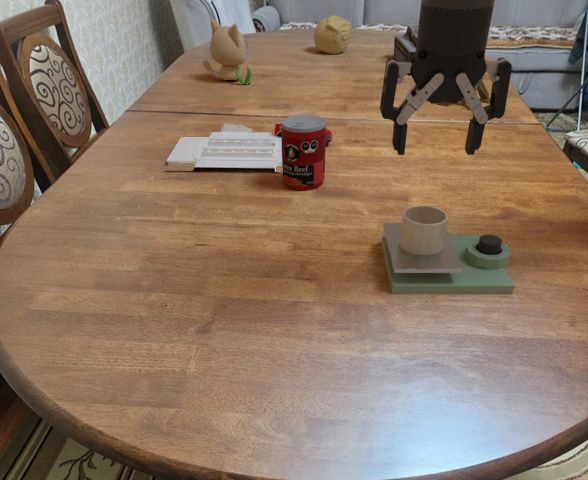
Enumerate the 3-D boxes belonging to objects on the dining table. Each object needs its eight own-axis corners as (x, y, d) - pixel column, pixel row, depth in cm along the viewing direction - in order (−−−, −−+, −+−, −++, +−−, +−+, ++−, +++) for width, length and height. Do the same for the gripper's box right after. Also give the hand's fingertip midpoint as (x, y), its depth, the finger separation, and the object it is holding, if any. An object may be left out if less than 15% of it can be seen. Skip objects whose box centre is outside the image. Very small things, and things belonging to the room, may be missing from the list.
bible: (464, 55, 179) (470, 21, 172) (473, 76, 158) (480, 38, 152) (392, 54, 182) (396, 20, 175) (392, 74, 161) (395, 36, 155)
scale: (492, 243, 83) (496, 225, 81) (519, 294, 73) (525, 275, 71) (380, 243, 84) (382, 225, 82) (391, 294, 73) (394, 275, 71)
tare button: (496, 245, 78) (498, 234, 76) (501, 256, 75) (504, 244, 74) (474, 245, 78) (477, 234, 76) (479, 256, 75) (482, 244, 74)
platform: (443, 226, 81) (444, 222, 81) (462, 273, 71) (463, 269, 71) (383, 226, 81) (383, 223, 81) (393, 273, 71) (394, 269, 71)
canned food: (274, 185, 101) (272, 123, 94) (298, 171, 106) (297, 111, 99) (309, 194, 97) (309, 131, 90) (332, 179, 103) (334, 118, 95)
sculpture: (339, 57, 179) (341, 19, 172) (307, 53, 184) (308, 16, 177) (355, 50, 186) (357, 14, 180) (324, 47, 191) (325, 11, 184)
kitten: (262, 81, 157) (260, 21, 147) (236, 88, 151) (232, 26, 142) (228, 72, 165) (223, 15, 155) (202, 79, 159) (196, 20, 150)
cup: (438, 234, 78) (443, 204, 75) (446, 255, 74) (452, 225, 71) (396, 234, 78) (400, 205, 75) (402, 255, 74) (406, 225, 71)
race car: (336, 141, 117) (337, 122, 115) (324, 149, 114) (324, 129, 111) (284, 130, 123) (284, 112, 120) (271, 137, 119) (270, 118, 117)
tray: (307, 173, 105) (306, 154, 103) (164, 177, 107) (160, 158, 104) (310, 137, 121) (309, 119, 118) (185, 141, 123) (182, 123, 120)
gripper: (394, 6, 55) (380, 165, 65) (537, 4, 54) (500, 164, 65) (386, -5, 61) (374, 142, 71) (515, -7, 60) (485, 141, 71)
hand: (434, 152), depth 68 cm, fingers open, 8 cm apart
